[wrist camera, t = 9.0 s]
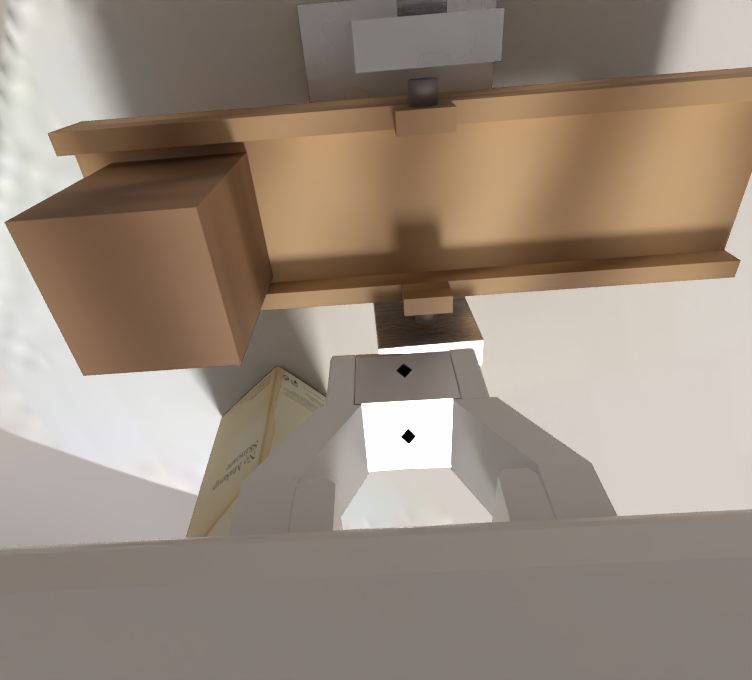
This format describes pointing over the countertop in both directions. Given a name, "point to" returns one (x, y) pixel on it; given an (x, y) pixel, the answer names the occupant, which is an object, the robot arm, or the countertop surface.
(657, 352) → the countertop surface
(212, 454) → the skincare box
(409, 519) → the countertop surface
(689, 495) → the countertop surface
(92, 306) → the block
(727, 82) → the beam
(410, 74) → the pivot stand
